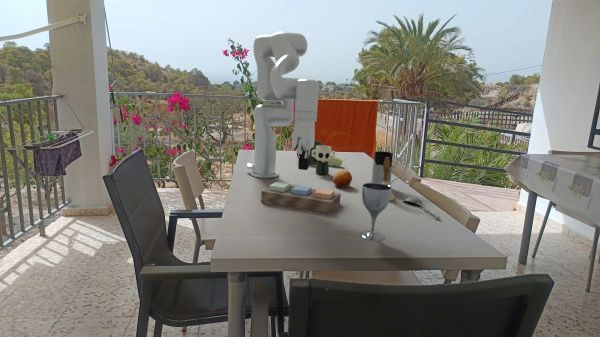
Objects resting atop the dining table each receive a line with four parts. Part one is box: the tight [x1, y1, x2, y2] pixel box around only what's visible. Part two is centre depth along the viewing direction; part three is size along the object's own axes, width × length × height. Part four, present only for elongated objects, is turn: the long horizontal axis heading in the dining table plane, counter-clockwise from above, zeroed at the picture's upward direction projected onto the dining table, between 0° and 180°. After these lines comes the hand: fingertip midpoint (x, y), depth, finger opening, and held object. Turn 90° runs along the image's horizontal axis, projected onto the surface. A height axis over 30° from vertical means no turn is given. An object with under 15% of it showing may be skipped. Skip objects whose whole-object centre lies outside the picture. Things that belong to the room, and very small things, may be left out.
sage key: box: [269, 181, 291, 192], centre depth 144 cm, size 6×6×3 cm
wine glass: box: [359, 182, 392, 242], centre depth 114 cm, size 8×8×15 cm
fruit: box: [332, 169, 353, 188], centre depth 168 cm, size 8×8×8 cm
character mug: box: [312, 145, 336, 175], centre depth 187 cm, size 11×7×13 cm, turn 93°
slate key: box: [291, 184, 313, 196], centre depth 141 cm, size 6×6×3 cm
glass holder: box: [370, 151, 408, 185], centre depth 167 cm, size 9×14×15 cm, turn 70°
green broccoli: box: [296, 139, 343, 168], centre depth 210 cm, size 25×12×11 cm, turn 59°
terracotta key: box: [314, 187, 335, 200], centre depth 139 cm, size 6×6×3 cm
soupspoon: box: [403, 197, 441, 220], centre depth 143 cm, size 22×3×7 cm
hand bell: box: [382, 157, 396, 202], centre depth 153 cm, size 8×8×16 cm
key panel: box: [260, 185, 342, 215], centre depth 142 cm, size 26×12×4 cm, turn 70°
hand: (303, 169), depth 139 cm, fingers closed
